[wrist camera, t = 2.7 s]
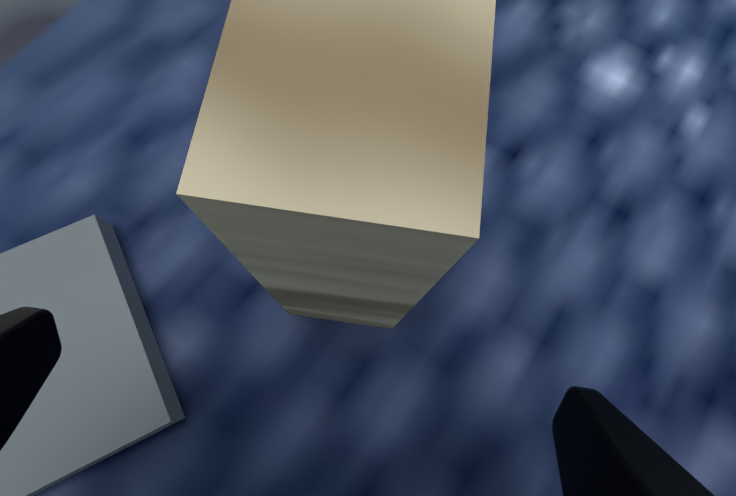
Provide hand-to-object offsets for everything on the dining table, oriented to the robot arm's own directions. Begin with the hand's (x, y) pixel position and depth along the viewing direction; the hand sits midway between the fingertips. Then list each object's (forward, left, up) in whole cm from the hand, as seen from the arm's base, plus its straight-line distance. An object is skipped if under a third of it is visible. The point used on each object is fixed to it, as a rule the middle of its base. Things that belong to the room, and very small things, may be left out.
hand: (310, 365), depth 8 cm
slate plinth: (+6, +10, -11) cm, 16 cm away
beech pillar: (+4, -3, -11) cm, 12 cm away
